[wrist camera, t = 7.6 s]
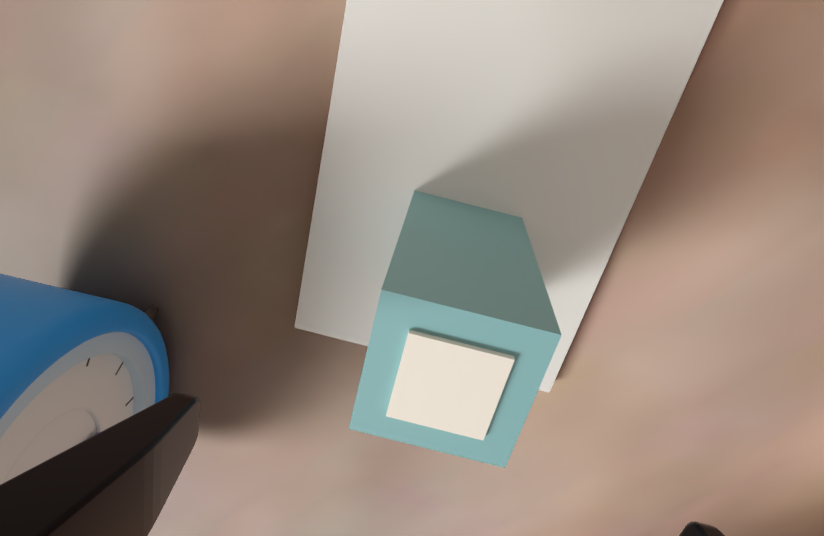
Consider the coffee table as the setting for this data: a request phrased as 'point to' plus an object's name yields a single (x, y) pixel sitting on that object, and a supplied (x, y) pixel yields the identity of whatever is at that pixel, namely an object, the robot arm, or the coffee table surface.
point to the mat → (492, 136)
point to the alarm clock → (70, 369)
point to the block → (457, 334)
